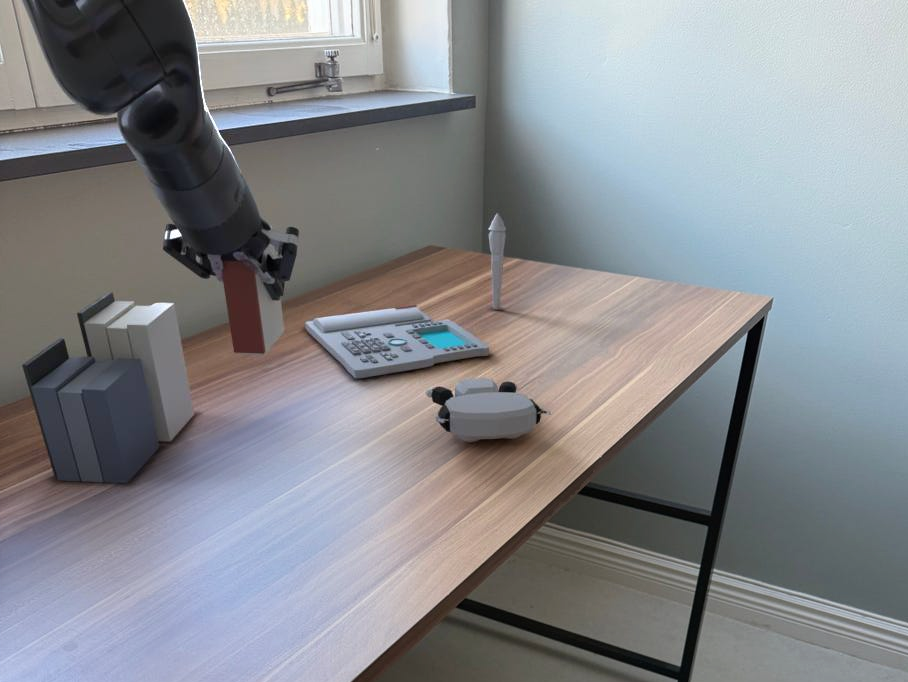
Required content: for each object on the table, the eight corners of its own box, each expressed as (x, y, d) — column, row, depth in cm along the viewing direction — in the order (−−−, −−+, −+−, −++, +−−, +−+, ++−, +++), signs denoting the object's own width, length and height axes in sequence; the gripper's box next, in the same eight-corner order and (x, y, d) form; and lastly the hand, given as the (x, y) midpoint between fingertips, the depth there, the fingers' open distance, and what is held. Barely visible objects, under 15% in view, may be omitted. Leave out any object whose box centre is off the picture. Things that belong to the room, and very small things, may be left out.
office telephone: (302, 312, 134) (428, 296, 141) (304, 330, 136) (428, 313, 142) (354, 360, 117) (494, 339, 124) (355, 380, 118) (494, 358, 125)
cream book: (234, 354, 96) (216, 242, 89) (256, 330, 102) (241, 224, 96) (264, 355, 96) (249, 243, 89) (284, 331, 102) (272, 225, 96)
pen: (501, 312, 143) (503, 215, 134) (485, 310, 143) (486, 214, 135) (506, 308, 145) (508, 212, 136) (490, 306, 145) (491, 210, 137)
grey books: (52, 480, 95) (19, 366, 88) (89, 444, 102) (61, 336, 95) (127, 483, 94) (99, 369, 87) (159, 447, 102) (136, 339, 95)
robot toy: (421, 413, 112) (443, 456, 100) (419, 376, 110) (442, 415, 97) (518, 406, 114) (551, 447, 102) (519, 369, 112) (553, 407, 99)
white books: (107, 439, 103) (76, 313, 95) (135, 411, 110) (108, 291, 101) (170, 442, 103) (144, 315, 95) (194, 414, 109) (172, 293, 101)
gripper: (284, 151, 81) (327, 261, 98) (129, 148, 82) (199, 257, 99) (275, 229, 80) (321, 327, 97) (119, 225, 81) (191, 322, 98)
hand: (259, 291), depth 98 cm, fingers closed on cream book, 3 cm apart
